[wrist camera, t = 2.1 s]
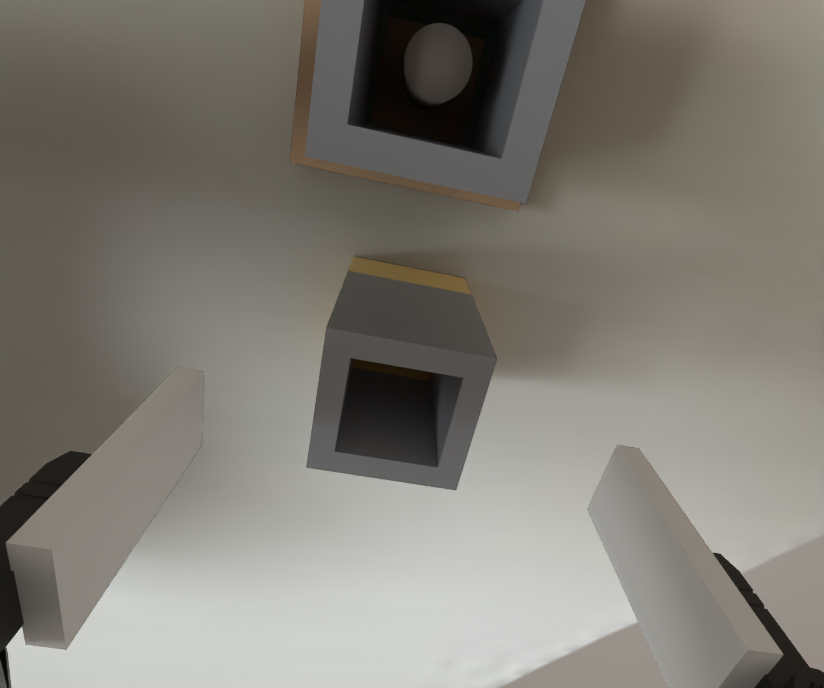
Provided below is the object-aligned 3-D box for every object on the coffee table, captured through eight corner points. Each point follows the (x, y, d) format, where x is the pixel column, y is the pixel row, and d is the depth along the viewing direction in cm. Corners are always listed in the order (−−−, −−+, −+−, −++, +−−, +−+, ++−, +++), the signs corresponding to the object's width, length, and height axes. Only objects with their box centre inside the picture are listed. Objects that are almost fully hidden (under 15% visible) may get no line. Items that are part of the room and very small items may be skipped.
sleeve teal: (476, 171, 20) (525, 204, 12) (345, 142, 20) (304, 156, 12) (514, 17, 18) (606, -71, 10) (368, -20, 18) (337, -147, 9)
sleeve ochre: (337, 357, 26) (306, 467, 17) (353, 256, 23) (326, 328, 15) (439, 375, 26) (456, 490, 18) (465, 278, 24) (497, 358, 16)
